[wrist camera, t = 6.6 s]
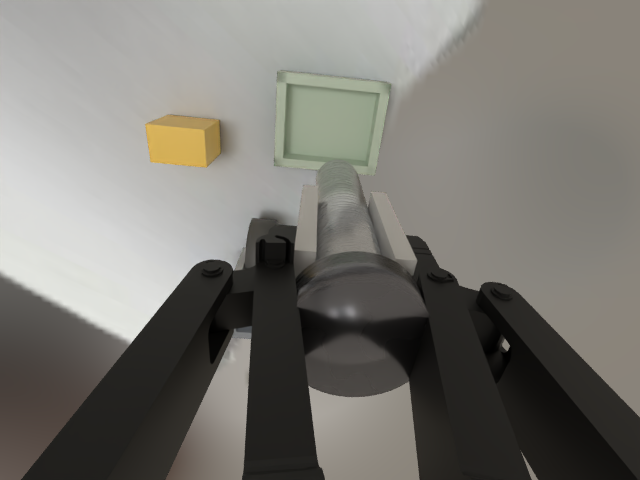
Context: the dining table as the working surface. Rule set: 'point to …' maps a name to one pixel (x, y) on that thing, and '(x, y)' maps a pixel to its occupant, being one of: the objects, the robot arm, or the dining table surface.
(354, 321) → the pin
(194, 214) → the dining table surface
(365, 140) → the tray
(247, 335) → the cart
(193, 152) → the block
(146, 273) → the dining table surface
